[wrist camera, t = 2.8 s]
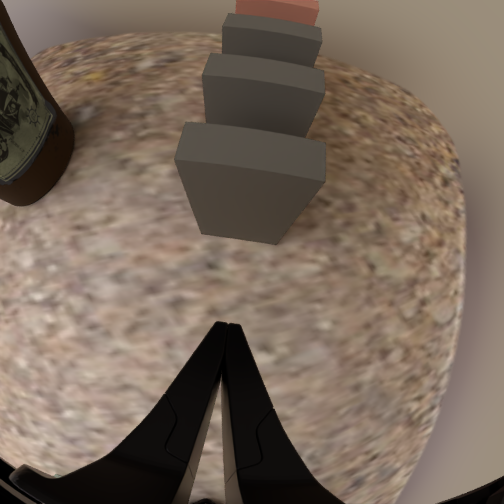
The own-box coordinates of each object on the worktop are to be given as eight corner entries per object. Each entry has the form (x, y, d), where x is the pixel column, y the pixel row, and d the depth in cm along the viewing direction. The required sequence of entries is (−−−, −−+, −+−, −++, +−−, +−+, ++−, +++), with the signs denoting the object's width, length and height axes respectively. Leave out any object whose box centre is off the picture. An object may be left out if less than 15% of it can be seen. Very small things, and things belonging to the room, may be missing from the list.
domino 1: (276, 244, 18) (325, 181, 9) (201, 234, 18) (174, 159, 8) (278, 222, 19) (325, 142, 9) (205, 211, 19) (185, 121, 9)
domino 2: (281, 187, 19) (325, 93, 9) (212, 177, 19) (201, 75, 9) (283, 168, 20) (323, 70, 10) (216, 158, 19) (210, 53, 10)
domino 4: (289, 103, 21) (319, 10, 11) (231, 94, 21) (236, -4, 11) (290, 90, 21) (318, 1, 11) (234, 82, 21) (240, -12, 11)
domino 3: (286, 140, 20) (322, 41, 10) (222, 131, 20) (222, 26, 10) (287, 125, 20) (321, 28, 11) (225, 115, 20) (228, 13, 10)
